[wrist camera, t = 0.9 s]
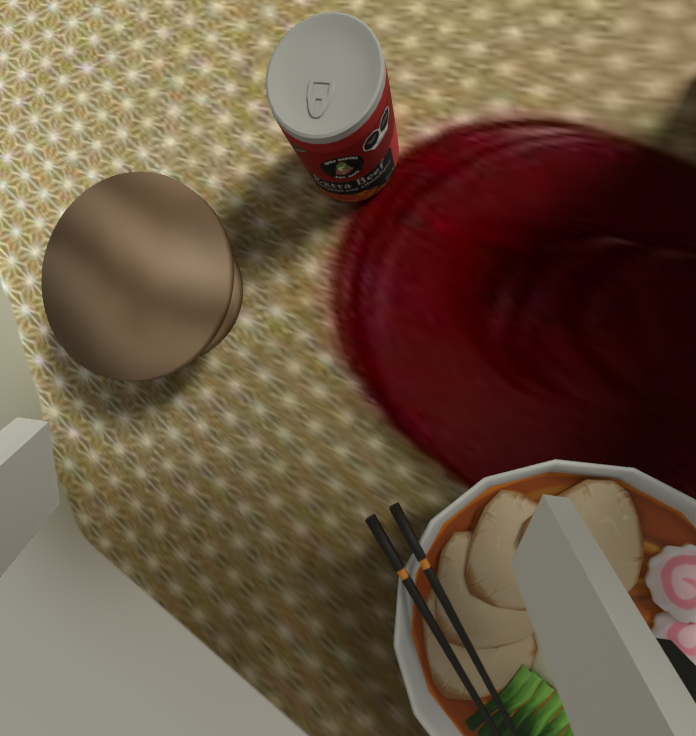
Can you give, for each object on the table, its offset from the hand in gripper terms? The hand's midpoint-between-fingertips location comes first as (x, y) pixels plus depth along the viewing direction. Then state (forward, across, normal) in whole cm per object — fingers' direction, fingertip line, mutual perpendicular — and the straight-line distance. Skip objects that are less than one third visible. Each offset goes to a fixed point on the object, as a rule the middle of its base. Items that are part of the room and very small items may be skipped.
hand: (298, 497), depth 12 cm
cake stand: (+31, -13, -6) cm, 34 cm away
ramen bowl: (+14, +20, -19) cm, 31 cm away
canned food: (+33, 0, +8) cm, 34 cm away
